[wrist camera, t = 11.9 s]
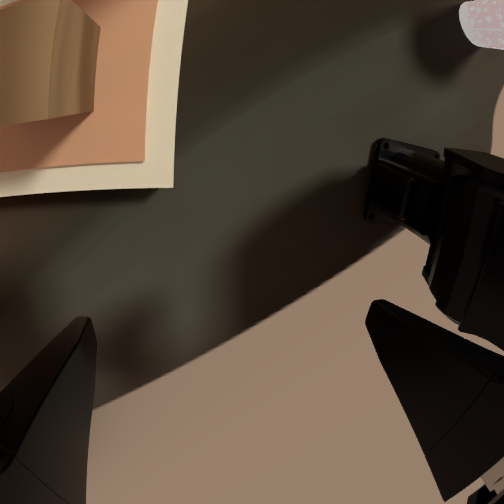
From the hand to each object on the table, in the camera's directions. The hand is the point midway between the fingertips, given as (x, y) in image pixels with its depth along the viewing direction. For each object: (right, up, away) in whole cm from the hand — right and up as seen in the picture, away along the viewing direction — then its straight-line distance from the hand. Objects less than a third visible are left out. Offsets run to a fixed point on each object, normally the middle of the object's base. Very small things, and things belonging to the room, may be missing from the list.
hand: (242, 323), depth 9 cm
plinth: (-10, +12, +5) cm, 17 cm away
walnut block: (-9, +11, +2) cm, 15 cm away
